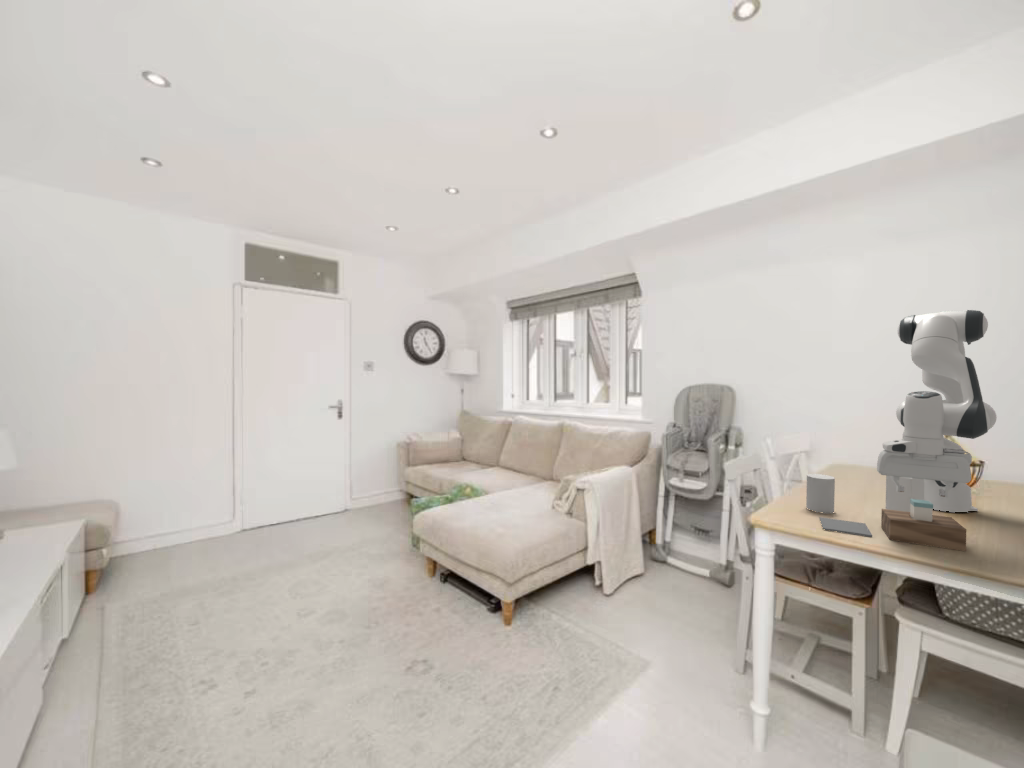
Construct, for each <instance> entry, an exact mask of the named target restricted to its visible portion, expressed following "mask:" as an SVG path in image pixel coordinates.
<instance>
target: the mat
mask: <svg viewBox="0 0 1024 768" xmlns="http://www.w3.org/2000/svg"><path fill="white" fill-rule="evenodd" d="M820 521H821V522H820ZM819 522H820V525H821V524H822V525H821V528H822V527H823V528H822V530H823V529H825V530H824V531H827V530H830V531H829V532H834V531H837V532H836V533H841V532H842V534H849V535H856V536H862V537H868V538H873V534H872V532H871V531H870V529H869V528H868V525H867V524H866V523H865V522H858V521H850V520H845V519H844V520H842V519H836V518H831V517H830V518H828V517H824V516H823V517H821V516H820V517H819Z"/></svg>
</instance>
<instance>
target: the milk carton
mask: <svg viewBox="0 0 1024 768" xmlns="http://www.w3.org/2000/svg"><path fill="white" fill-rule="evenodd" d="M897 481H898V483H899V484H900V485H903V486H904V489H903V490H904V492H897V490H896V484H895V483H894V481H893V480H892V476H886V475H885V509H889V510H897V511H905V512H910V499H916V500H924V481H925V479H917V478H907V477H899V480H897Z"/></svg>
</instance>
